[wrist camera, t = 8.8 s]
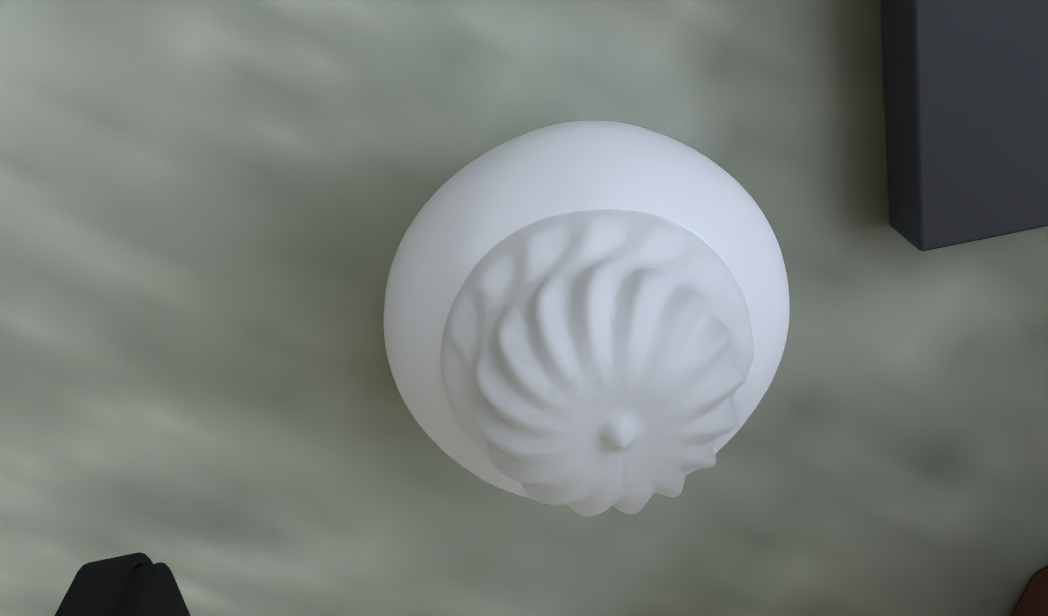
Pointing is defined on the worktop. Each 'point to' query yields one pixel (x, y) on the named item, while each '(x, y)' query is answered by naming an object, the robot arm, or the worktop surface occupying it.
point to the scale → (965, 118)
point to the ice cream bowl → (1035, 597)
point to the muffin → (586, 314)
